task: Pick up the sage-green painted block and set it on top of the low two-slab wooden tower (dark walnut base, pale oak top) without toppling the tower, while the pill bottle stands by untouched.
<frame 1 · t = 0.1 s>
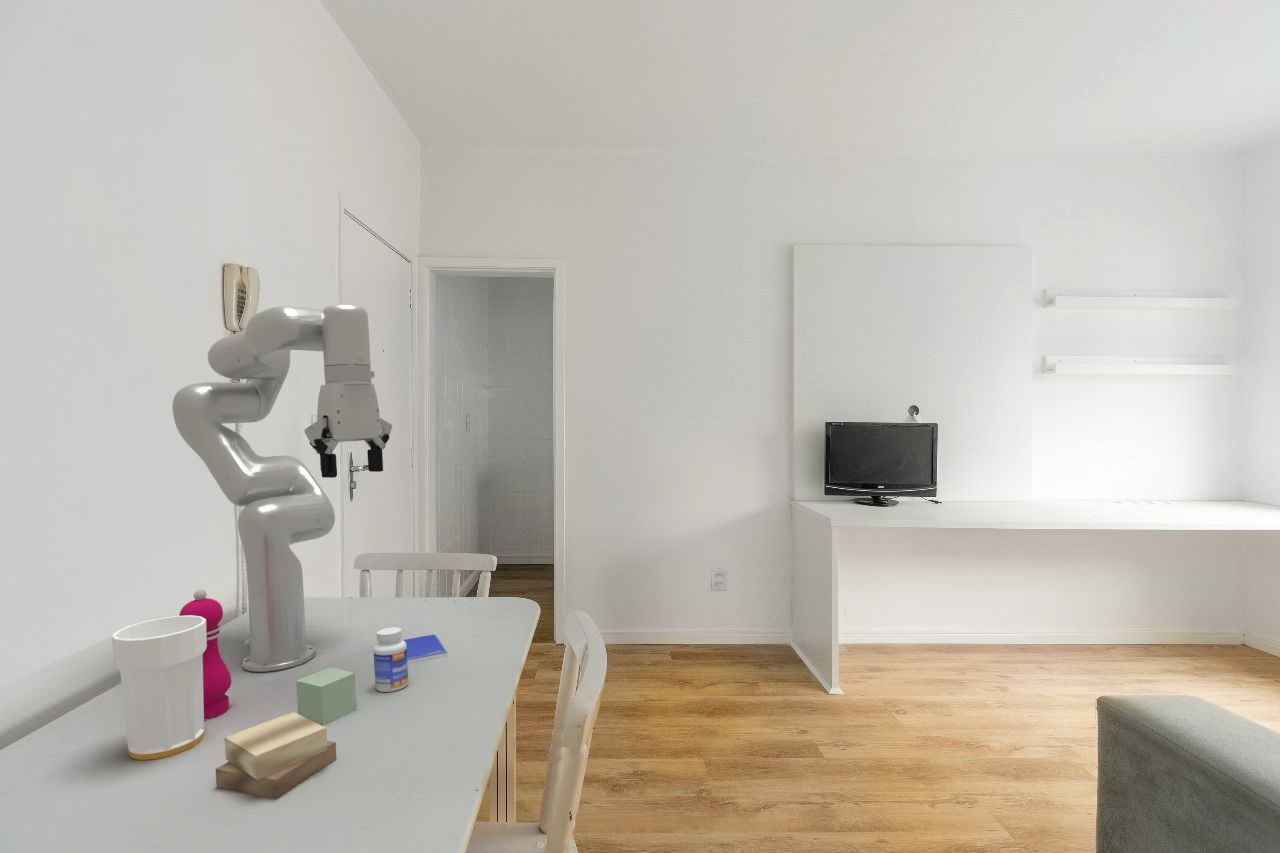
hand: (353, 474, 123), 37 cm above the table, tool pointing down, fingers open, 9 cm apart
walnut base block: (278, 777, 93), on the table
hard drive: (420, 654, 138), on the table
pill bottle: (392, 687, 121), on the table
cup: (167, 745, 102), on the table
pepper mill: (207, 713, 113), on the table
sage block: (327, 714, 111), on the table
oak top block: (276, 754, 93), point 2 cm above the table
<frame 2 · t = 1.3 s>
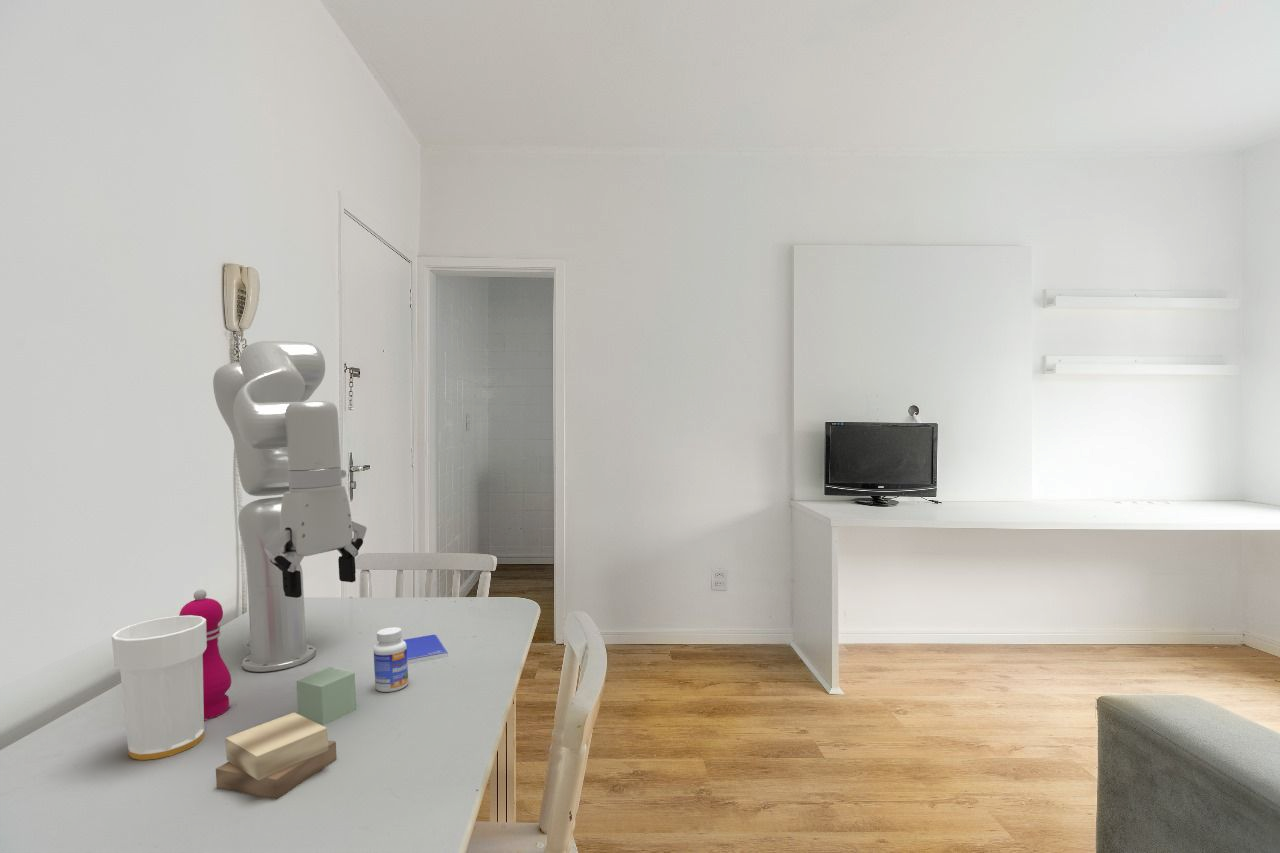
hand: (321, 588, 110), 20 cm above the table, tool pointing down, fingers open, 9 cm apart
nothing on the table moved.
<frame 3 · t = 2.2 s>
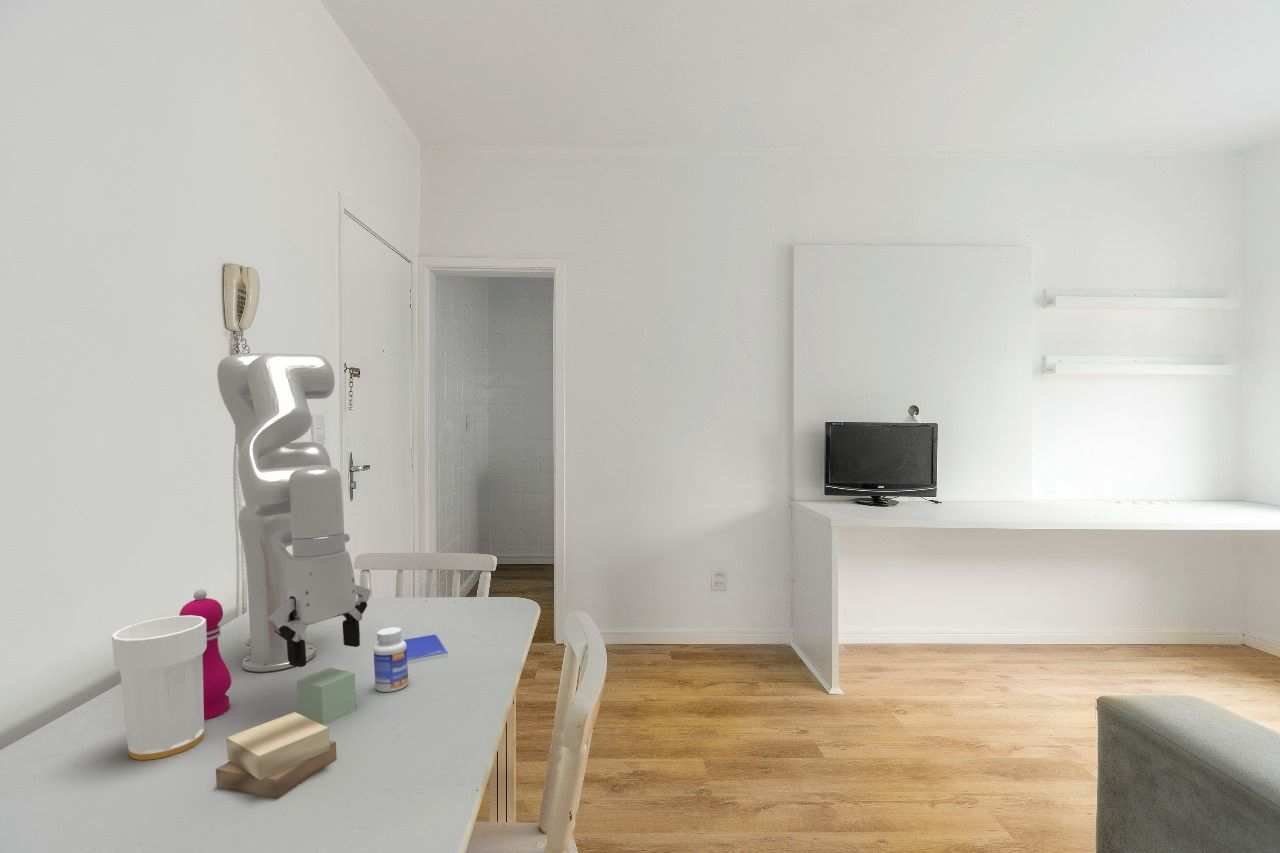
hand: (325, 655, 110), 10 cm above the table, tool pointing down, fingers open, 9 cm apart
walnut base block: (279, 777, 93), on the table, touching oak top block
oak top block: (279, 754, 93), point 2 cm above the table, touching walnut base block
everything else where it was.
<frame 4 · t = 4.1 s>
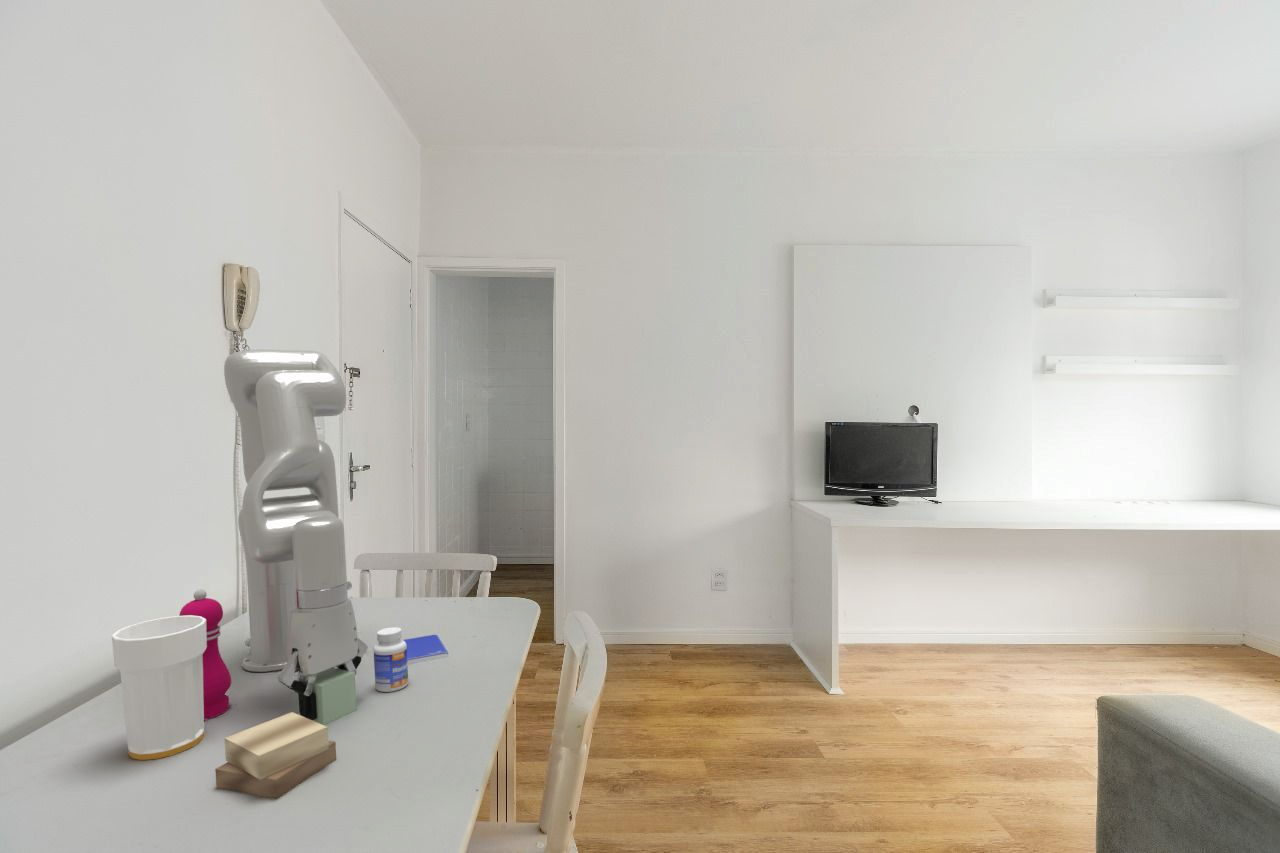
hand: (327, 708, 111), 1 cm above the table, tool pointing down, fingers closed on sage block, 6 cm apart
walnut base block: (278, 777, 93), on the table
sage block: (327, 713, 111), on the table, touching gripper
oak top block: (277, 754, 93), point 2 cm above the table
everything else where it was.
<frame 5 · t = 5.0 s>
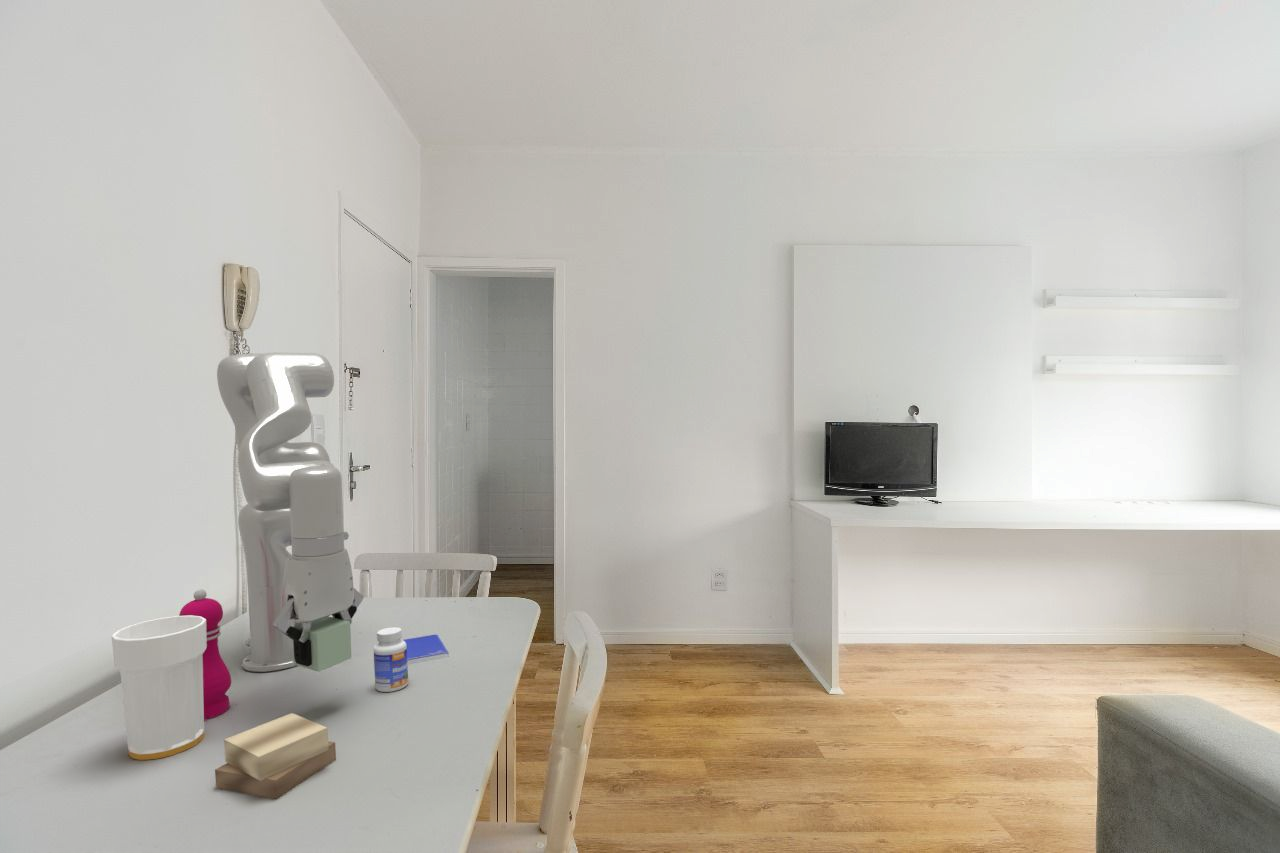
hand: (322, 655, 111), 9 cm above the table, tool pointing down, fingers closed on sage block, 6 cm apart
sage block: (322, 661, 111), point 8 cm above the table, touching gripper
everything else where it was.
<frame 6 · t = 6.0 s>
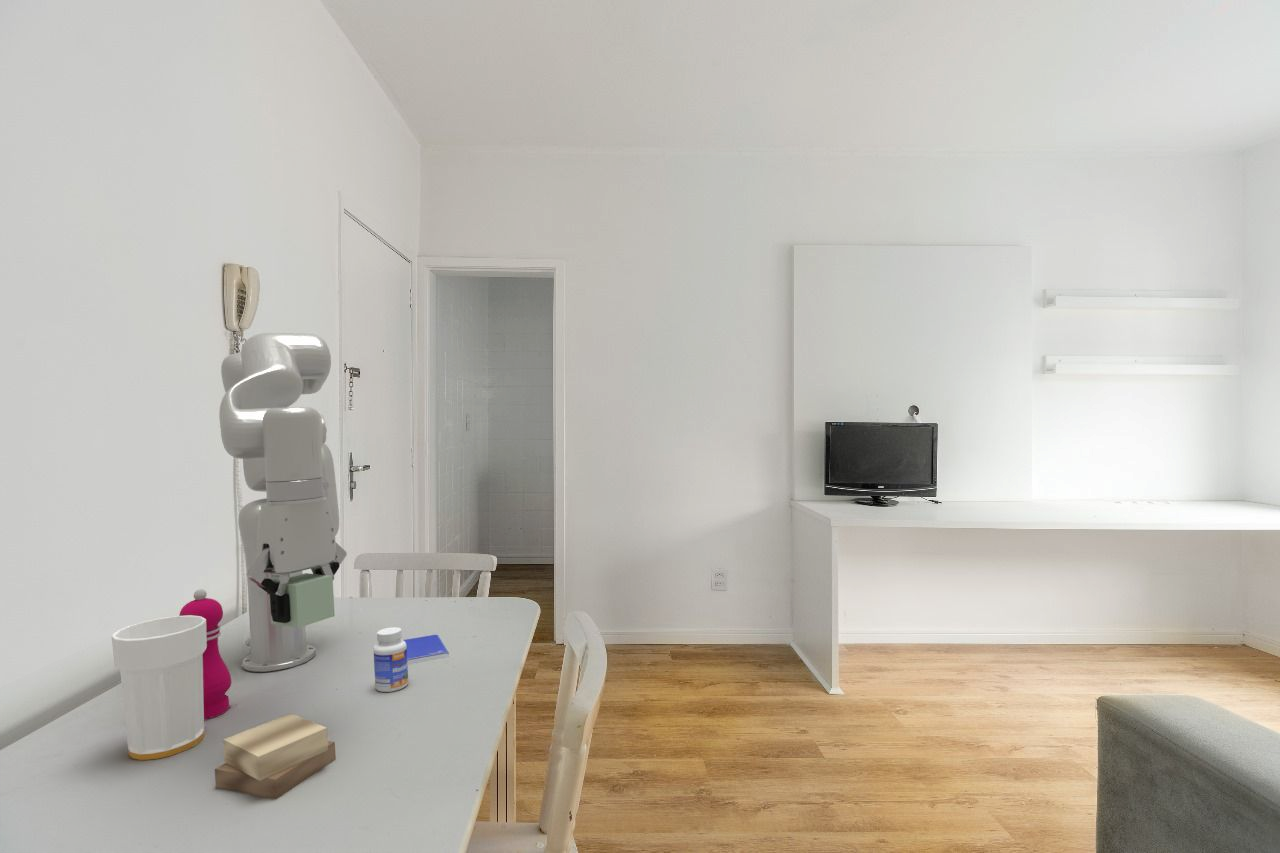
hand: (302, 614, 102), 18 cm above the table, tool pointing down, fingers closed on sage block, 6 cm apart
walnut base block: (278, 777, 93), on the table, touching oak top block
sage block: (303, 619, 102), point 17 cm above the table, touching gripper
oak top block: (276, 755, 93), point 2 cm above the table, touching walnut base block
everything else where it was.
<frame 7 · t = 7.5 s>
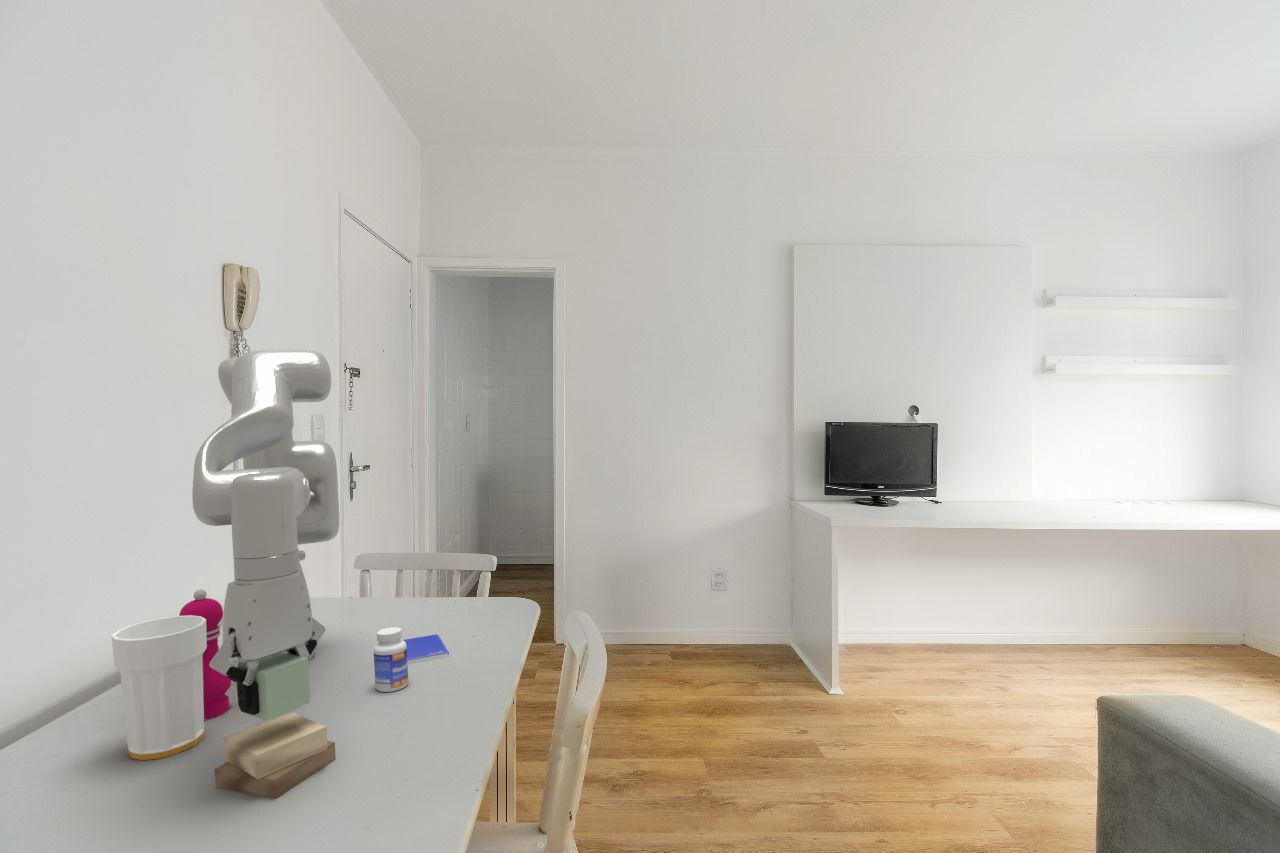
hand: (274, 701, 92), 10 cm above the table, tool pointing down, fingers closed on sage block, 6 cm apart
walnut base block: (277, 777, 93), on the table
sage block: (275, 707, 92), point 9 cm above the table, touching gripper
oak top block: (277, 754, 93), point 2 cm above the table
everything else where it was.
when the fingers open (8 cm above the table, at t = 9.1 s): sage block drops 1 cm, point 5 cm above the table.
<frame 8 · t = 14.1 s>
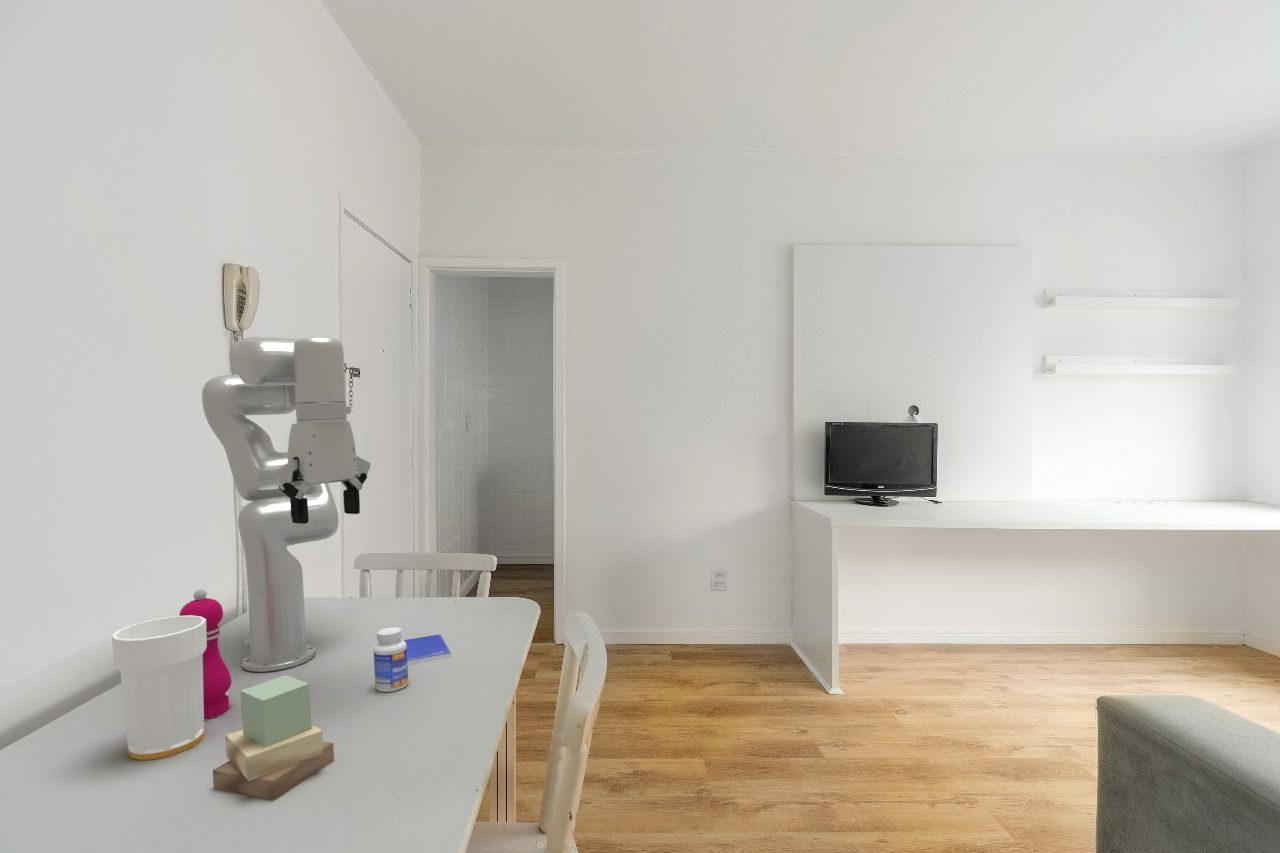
hand: (327, 518, 115), 30 cm above the table, tool pointing down, fingers open, 9 cm apart
sage block: (277, 731, 93), point 5 cm above the table
at the end: sage block 0.4 cm off-centre on the oak top block, point 3.0 cm above the oak top block's base; sage block tilted 0°; oak top block tilted 0° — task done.
